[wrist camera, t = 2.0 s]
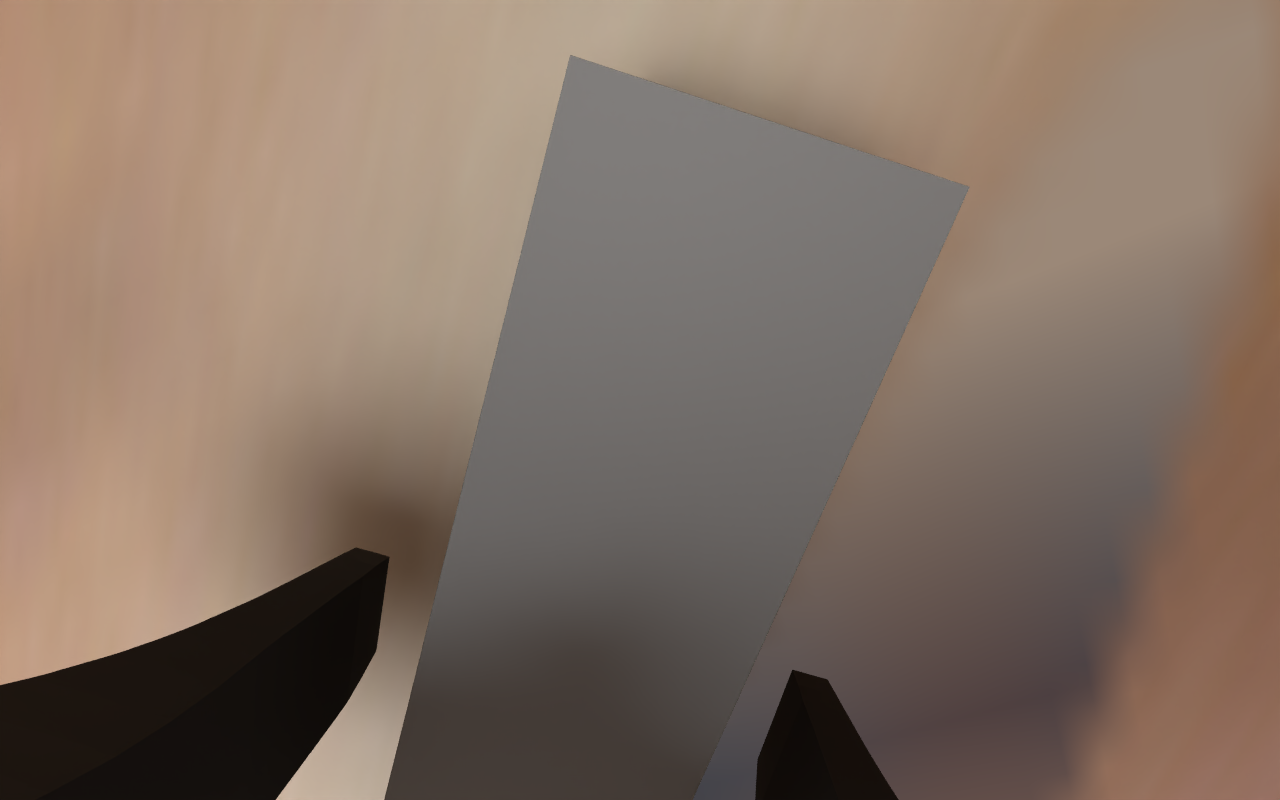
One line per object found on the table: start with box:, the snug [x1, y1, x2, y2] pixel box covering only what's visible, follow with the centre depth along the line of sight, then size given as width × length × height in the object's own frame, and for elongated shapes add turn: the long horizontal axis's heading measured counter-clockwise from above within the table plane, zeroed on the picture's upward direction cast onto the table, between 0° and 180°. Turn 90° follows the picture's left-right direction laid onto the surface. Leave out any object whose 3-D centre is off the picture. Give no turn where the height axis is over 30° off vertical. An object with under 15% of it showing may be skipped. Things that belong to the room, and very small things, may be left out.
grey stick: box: [384, 55, 969, 800], centre depth 13 cm, size 4×18×5 cm, turn 163°
